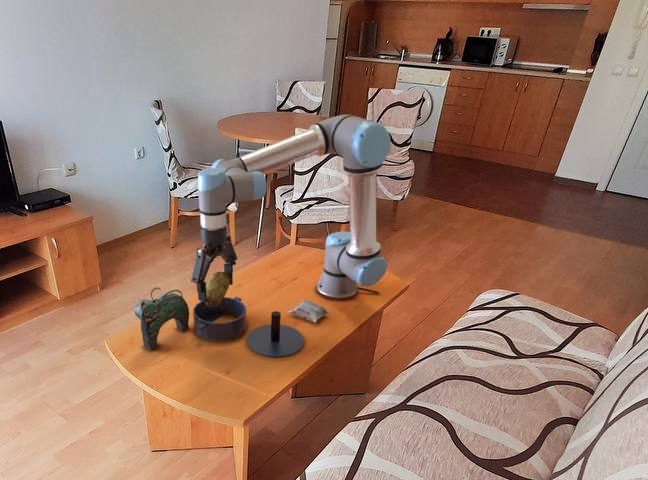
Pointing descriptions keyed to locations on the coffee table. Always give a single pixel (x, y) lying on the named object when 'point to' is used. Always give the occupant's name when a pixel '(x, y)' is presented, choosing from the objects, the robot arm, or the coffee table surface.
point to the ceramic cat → (161, 315)
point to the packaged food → (309, 311)
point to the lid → (275, 339)
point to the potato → (217, 288)
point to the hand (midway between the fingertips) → (216, 292)
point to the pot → (208, 315)
